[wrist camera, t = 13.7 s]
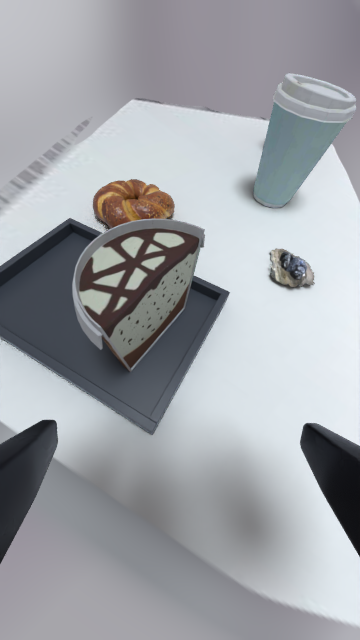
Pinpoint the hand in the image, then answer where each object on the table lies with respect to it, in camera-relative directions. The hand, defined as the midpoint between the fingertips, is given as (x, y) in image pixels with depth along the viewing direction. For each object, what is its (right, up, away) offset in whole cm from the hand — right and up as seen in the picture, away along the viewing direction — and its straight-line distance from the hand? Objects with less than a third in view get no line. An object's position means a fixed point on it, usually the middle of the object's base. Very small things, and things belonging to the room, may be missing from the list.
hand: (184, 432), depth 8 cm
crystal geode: (+15, +11, +24) cm, 30 cm away
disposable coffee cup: (+16, +26, +33) cm, 45 cm away
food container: (-5, +4, +16) cm, 17 cm away
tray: (-9, +5, +17) cm, 20 cm away
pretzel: (-7, +20, +27) cm, 35 cm away
